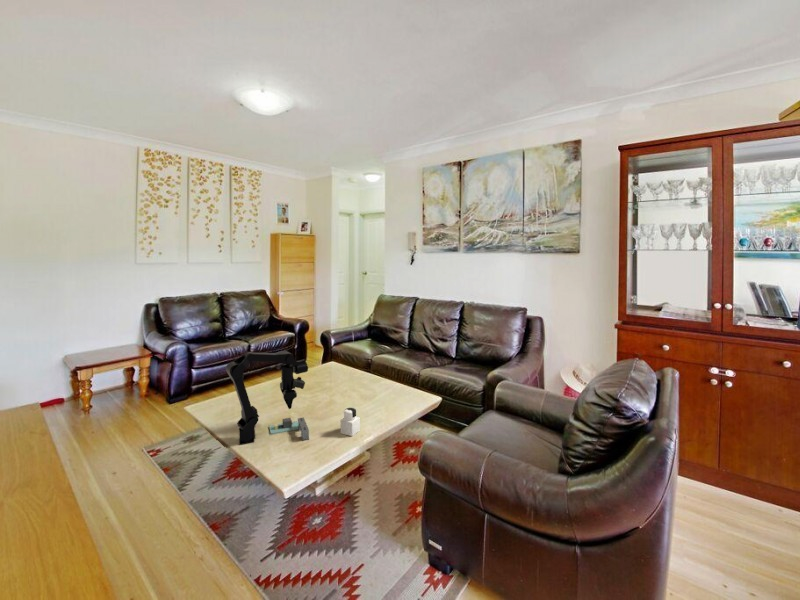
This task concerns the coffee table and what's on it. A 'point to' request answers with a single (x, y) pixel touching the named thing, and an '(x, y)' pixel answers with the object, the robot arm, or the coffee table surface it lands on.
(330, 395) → the coffee table surface
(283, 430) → the mat
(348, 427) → the medicine bottle
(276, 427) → the plug
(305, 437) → the housing
